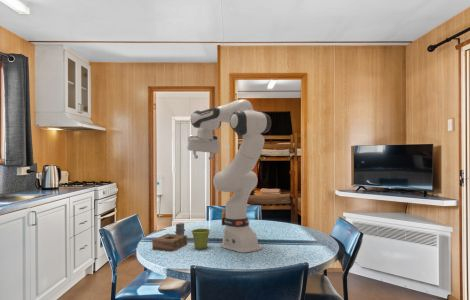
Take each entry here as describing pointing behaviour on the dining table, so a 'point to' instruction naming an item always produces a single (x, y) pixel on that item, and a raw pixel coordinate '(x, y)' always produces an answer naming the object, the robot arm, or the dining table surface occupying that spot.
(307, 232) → the dining table surface
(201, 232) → the plant pot
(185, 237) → the brown wooden box
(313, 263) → the dining table surface
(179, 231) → the servo
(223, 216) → the ammunition clip
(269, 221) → the dining table surface
